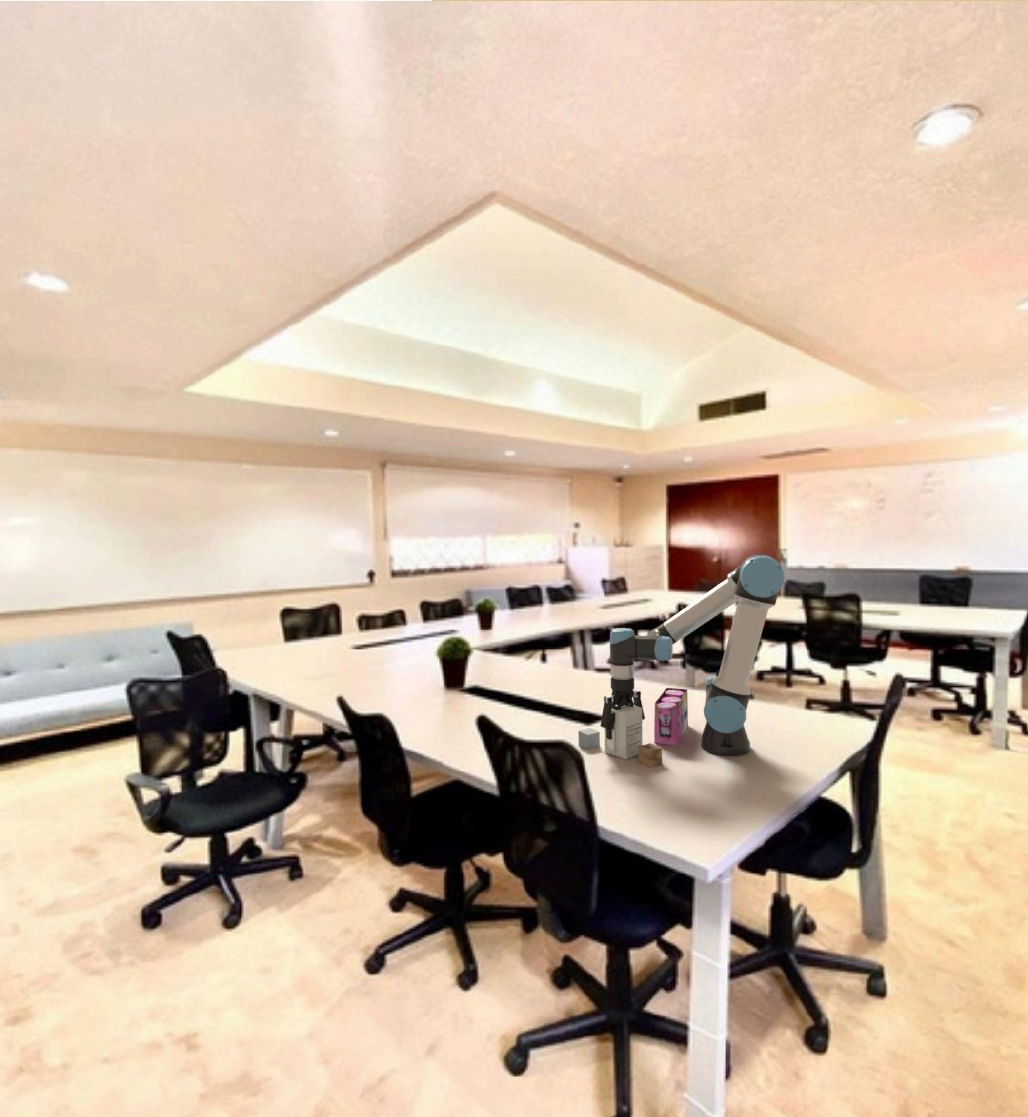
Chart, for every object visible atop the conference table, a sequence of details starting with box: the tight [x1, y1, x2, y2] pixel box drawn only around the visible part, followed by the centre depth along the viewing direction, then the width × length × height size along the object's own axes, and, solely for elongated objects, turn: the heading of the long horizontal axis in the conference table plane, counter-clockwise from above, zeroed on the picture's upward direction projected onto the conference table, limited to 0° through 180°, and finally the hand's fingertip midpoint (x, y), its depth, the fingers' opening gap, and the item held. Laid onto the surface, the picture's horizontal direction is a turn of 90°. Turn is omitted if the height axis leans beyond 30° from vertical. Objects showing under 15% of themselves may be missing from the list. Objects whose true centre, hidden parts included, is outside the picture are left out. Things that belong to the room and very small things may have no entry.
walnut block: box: [638, 742, 663, 768], centre depth 185 cm, size 5×5×5 cm
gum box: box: [653, 687, 689, 747], centre depth 209 cm, size 24×8×14 cm, turn 155°
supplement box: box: [604, 705, 643, 760], centre depth 193 cm, size 9×9×15 cm
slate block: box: [578, 727, 601, 751], centre depth 201 cm, size 5×5×5 cm
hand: (623, 745), depth 194 cm, fingers closed on supplement box, 9 cm apart
